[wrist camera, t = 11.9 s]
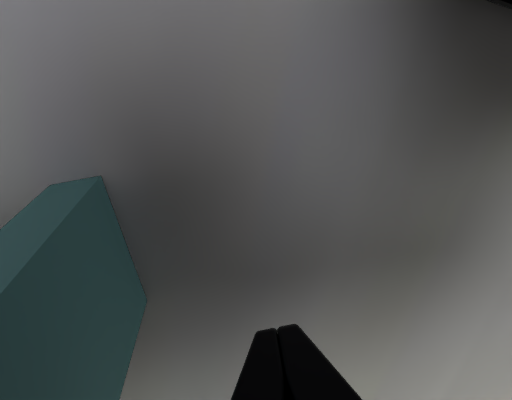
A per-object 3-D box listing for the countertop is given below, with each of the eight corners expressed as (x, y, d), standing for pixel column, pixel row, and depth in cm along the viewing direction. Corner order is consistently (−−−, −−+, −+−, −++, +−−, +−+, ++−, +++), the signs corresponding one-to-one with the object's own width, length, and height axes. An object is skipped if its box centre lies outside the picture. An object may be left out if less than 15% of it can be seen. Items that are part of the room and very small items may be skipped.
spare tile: (104, 308, 14) (-30, 623, 6) (50, 185, 12) (-242, 444, 4) (147, 300, 14) (60, 605, 6) (101, 175, 12) (-107, 419, 4)
